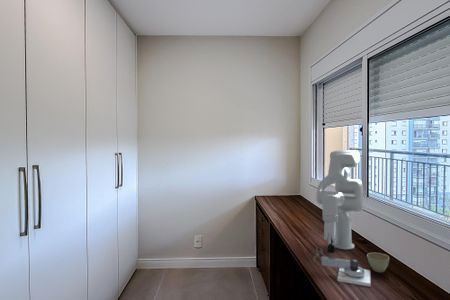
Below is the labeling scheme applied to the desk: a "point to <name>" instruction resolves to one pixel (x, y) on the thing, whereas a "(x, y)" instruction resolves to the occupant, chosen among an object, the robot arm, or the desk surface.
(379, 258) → the flower pot
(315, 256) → the pliers
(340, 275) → the dial plate
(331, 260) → the dial
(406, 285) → the desk surface
